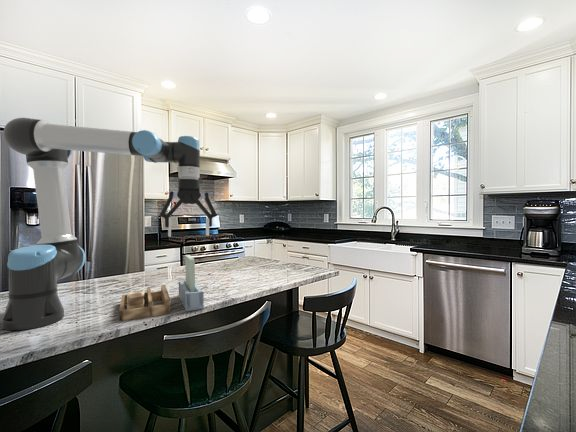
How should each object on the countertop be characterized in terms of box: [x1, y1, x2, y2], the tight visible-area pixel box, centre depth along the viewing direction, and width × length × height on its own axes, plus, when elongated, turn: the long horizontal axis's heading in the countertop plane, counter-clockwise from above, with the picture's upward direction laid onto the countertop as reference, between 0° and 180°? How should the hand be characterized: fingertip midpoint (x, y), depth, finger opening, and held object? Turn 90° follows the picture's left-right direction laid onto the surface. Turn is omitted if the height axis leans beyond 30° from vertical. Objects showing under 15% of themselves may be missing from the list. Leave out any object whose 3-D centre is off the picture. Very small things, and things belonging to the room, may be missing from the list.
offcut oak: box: [126, 299, 145, 309], centre depth 102 cm, size 5×6×4 cm
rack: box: [118, 285, 171, 322], centre depth 108 cm, size 15×20×5 cm
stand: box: [178, 280, 205, 312], centre depth 115 cm, size 6×20×6 cm, turn 26°
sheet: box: [184, 254, 196, 293], centre depth 115 cm, size 2×12×16 cm, turn 26°
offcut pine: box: [126, 290, 146, 305], centre depth 111 cm, size 5×6×4 cm
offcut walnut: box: [128, 293, 145, 306], centre depth 102 cm, size 4×5×2 cm
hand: (189, 236), depth 115 cm, fingers open, 13 cm apart
